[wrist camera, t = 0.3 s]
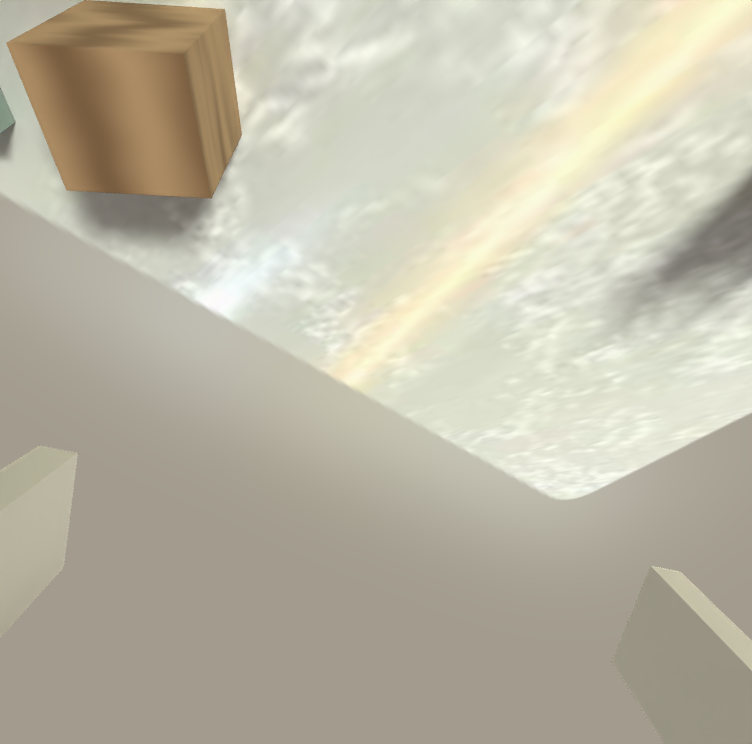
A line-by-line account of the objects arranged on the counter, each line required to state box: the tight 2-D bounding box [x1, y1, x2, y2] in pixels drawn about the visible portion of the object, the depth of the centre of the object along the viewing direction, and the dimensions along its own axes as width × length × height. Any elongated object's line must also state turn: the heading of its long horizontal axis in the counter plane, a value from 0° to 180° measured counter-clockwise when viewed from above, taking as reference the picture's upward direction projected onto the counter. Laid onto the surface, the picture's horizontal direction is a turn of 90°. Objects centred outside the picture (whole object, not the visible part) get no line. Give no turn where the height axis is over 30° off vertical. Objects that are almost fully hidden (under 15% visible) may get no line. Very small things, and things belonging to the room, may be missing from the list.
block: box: [7, 0, 242, 198], centre depth 33 cm, size 9×8×10 cm
